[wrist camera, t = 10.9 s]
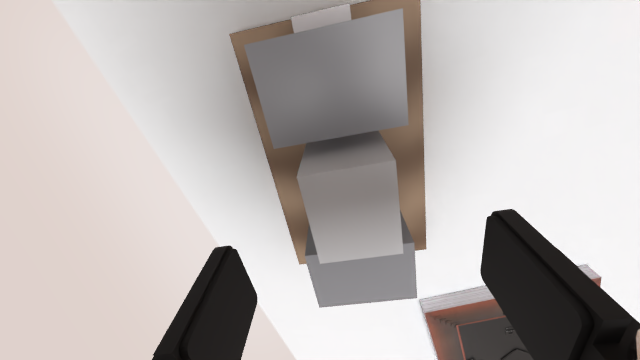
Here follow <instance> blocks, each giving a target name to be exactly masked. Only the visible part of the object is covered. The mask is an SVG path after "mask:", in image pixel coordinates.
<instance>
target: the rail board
mask: <svg viewBox="0 0 640 360" xmlns="http://www.w3.org/2000/svg"><path fill="white" fill-rule="evenodd" d="M401 8H403V22H404V42H405V63H406V83H407V104H408V124H409V125H406V126H401V127H395V128H390V129H384V130H378V131H379V133H380V134H381V136H382V138H383V139H384V141H385V143H386V144H387V146H388V148H389V150H390V151H391V153H392V155H393V156H394V158H395V160H396V168H397V181H398V193H399V205H400V211H401V213H402V215H403V218H404V220H405V222H406V225H407V227H408V229H409V232H410V234H411V236H412V239H413V241H414V248H415V251H416V250H424V249H426V220H425V178H424V136H423V94H422V52H421V10H420V0H370V1H366V2H362V3H358V4H353V5H350V4H349V3H347V4H343V5H339V6H335V7H330V8H326V9H322V10H318V11H314V12H310V13H305V14H301V15H297V16H293V17H291V20H286V21H282V22H278V23H274V24H270V25H265V26H261V27H257V28H253V29H249V30H244V31H240V32H236V33H232V34H229V35H230V38H231V41H232V44H233V48H234V51H235V54H236V58H237V61H238V64H239V67H240V71H241V74H242V77H243V81H244V84H245V87H246V90H247V94H248V97H249V100H250V104H251V107H252V110H253V113H254V117H255V120H256V123H257V127H258V130H259V133H260V136H261V140H262V143H263V146H264V149H265V153H266V156H267V159H268V163H269V166H270V169H271V172H272V176H273V179H274V182H275V186H276V189H277V192H278V195H279V199H280V202H281V205H282V209H283V212H284V215H285V218H286V222H287V225H288V228H289V232H290V235H291V238H292V241H293V245H294V248H295V251H296V255H297V258H298V261H299V264H307V262H306V259H305V250H306V242H307V235H308V227H309V221H308V217H307V213H306V210H305V206H304V202H303V198H302V195H301V191H300V187H299V184H298V180H297V174H298V170H299V167H300V163H301V160H302V157H303V153H304V149H305V146H306V143H305V144H299V145H294V146H288V147H282V148H277V149H274V148H273V144H272V141H271V137H270V134H269V130H268V127H267V124H266V120H265V117H264V113H263V110H262V106H261V103H260V99H259V96H258V92H257V89H256V85H255V82H254V78H253V75H252V71H251V68H250V64H249V61H248V58H247V54H246V51H245V47H244V45H246V44H250V43H254V42H259V41H263V40H267V39H272V38H276V37H280V36H285V35H289V34H293V33H298V32H302V31H306V30H311V29H315V28H319V27H323V26H328V25H332V24H336V23H341V22H345V21H349V20H354V19H358V18H362V17H367V16H371V15H375V14H380V13H384V12H388V11H393V10H397V9H401Z"/></svg>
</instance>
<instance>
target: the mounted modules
mask: <svg viewBox="0 0 640 360" xmlns="http://www.w3.org/2000/svg"><path fill="white" fill-rule="evenodd" d="M244 47H245V51H246V54H247V58H248V61H249V64H250V68H251V71H252V75H253V78H254V82H255V85H256V89H257V92H258V96H259V99H260V103H261V106H262V110H263V113H264V117H265V120H266V124H267V127H268V130H269V134H270V137H271V141H272V144H273V148H274V149H277V148H282V147H288V146H294V145H299V144H305V143H311V142H316V141H322V140H327V139H333V138H339V137H344V136H350V135H356V134H361V133H367V132H373V131H378V130H384V129H390V128H395V127H401V126H406V125H409V124H408V104H407V83H406V63H405V42H404V22H403V8H401V9H397V10H393V11H388V12H384V13H380V14H375V15H371V16H367V17H362V18H358V19H354V20H349V21H345V22H341V23H336V24H332V25H328V26H323V27H319V28H315V29H311V30H306V31H302V32H298V33H293V34H289V35H285V36H280V37H276V38H272V39H267V40H263V41H259V42H254V43H250V44H246V45H244ZM400 217H401V229H402V241H403V253H404V254H396V255H388V256H380V257H372V258H364V259H355V260H347V261H339V262H331V263H323V264H320V262H319V258H318V254H317V251H316V247H315V243H314V239H313V236H312V232H311V228H310V225H309V227H308V235H307V242H306V250H305V259H306V262H307V266H308V269H309V273H310V276H311V280H312V283H313V287H314V290H315V294H316V297H317V301H318V304H319V308H320V307H330V306H340V305H350V304H361V303H371V302H381V301H391V300H402V299H412V298H417V289H416V268H415V248H414V241H413V239H412V236H411V234H410V232H409V229H408V227H407V225H406V222H405V220H404V218H403V215H402V213H401V211H400Z"/></svg>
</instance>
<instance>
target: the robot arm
mask: <svg viewBox="0 0 640 360" xmlns="http://www.w3.org/2000/svg"><path fill="white" fill-rule="evenodd" d="M481 276H482V279H483V281H484V283H485V284H486V286H487V287H488V289H489V291H490V292H491V294H492V295H493V297H494V298H495V300H496V302H497V303H498V305H499V306H500V308H501V309H502V311H503V313H504V314H505V316H506V317H507V319H508V320H509V322H510V324H511V325H512V327H513V328H514V330H515V331H516V333H517V335H518V336H519V338H520V339H521V341H522V342H523V344H524V346H525V347H526V349H527V350H528V352H529V353H530V355H531V357H532V358H533V360H640V323H639V322H638V321H636V320H635V319H634V318H633V317H632V316H631V315H630V314H629V313H628V312H627V311H625V310H624V309H623V308H622V307H621V306H620V305H619V304H618V303H617V302H616V301H614V300H613V299H612V298H611V297H610V296H609V295H608V294H607V293H606V292H605V291H604V290H602V289H601V288H600V287H599V286H598V285H597V284H596V283H595V282H594V281H593V280H591V279H590V278H589V277H588V276H587V275H586V274H585V273H584V272H583V271H582V270H580V269H579V268H578V267H577V266H576V265H575V264H574V263H573V262H572V261H571V260H570V259H568V258H567V257H566V256H565V255H564V254H563V253H562V252H561V251H560V250H558V249H557V248H556V247H554V246H553V245H552V244H551V243H550V242H549V241H548V240H547V239H546V238H544V237H543V236H542V235H541V234H540V233H539V232H538V231H537V230H536V229H535V228H534V227H532V226H531V225H530V224H529V223H528V222H527V221H526V220H525V219H524V218H523V217H522V216H520V215H519V214H518V213H517V212H516V211H515V210H513V209H508V210H501V211H494V212H493V213H492V214H491V216H488V217H487V220H486V229H485V237H484V246H483V254H482V263H481ZM256 305H257V294H256V292H255V289H254V287H253V285H252V283H251V281H250V278H249V276H248V274H247V272H246V269H245V267H244V265H243V263H242V261H241V258H240V256H239V254H238V252H237V250H236V249H233V248H232V247H231V246H223V247H217V248H215V249H214V250H213V251H212V253H211V255H210V256H209V258H208V260H207V262H206V264H205V265H204V267H203V269H202V270H201V272H200V274H199V276H198V277H197V279H196V281H195V283H194V284H193V286H192V288H191V290H190V291H189V293H188V295H187V297H186V299H185V300H184V302H183V304H182V305H181V307H180V309H179V311H178V312H177V314H176V316H175V318H174V320H173V321H172V323H171V325H170V326H169V328H168V330H167V331H166V333H165V335H164V337H163V339H162V340H161V342H160V344H159V345H158V347H157V349H156V351H155V353H154V354H153V355H154V357H153V359H152V360H241V357H242V353H243V350H244V346H245V343H246V340H247V336H248V333H249V329H250V326H251V322H252V319H253V315H254V312H255V308H256Z"/></svg>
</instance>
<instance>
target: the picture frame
mask: <svg viewBox="0 0 640 360" xmlns="http://www.w3.org/2000/svg"><path fill="white" fill-rule="evenodd" d="M577 267H578V268H579V269H580V270H582V271H583V272H584V273H585V274H586V275H587V276H588V277H589V278H590V279H591V280H593V281H594V282H595V283H596V284H597V285H598V286H599V287H600V283H601V277H600V276H599V275H598V274H597V273H596V272H594V271H593V270H592V269H591V268H590V267H588V266H587V265H581V266H577ZM420 303H421V307H422V310H423V313H424V316H425V319H426V323H427V326H428V329H429V332H430V336H431V339H432V342H433V345H434V348H435V352H436V355H437V358H438V360H533V358H532V357H531V355H530V353H529V352H528V350H527V349H526V347H525V346H524V344H523V342H522V341H521V339H520V338H519V336H518V335H517V333H516V331H515V330H514V328H513V327H512V325H511V324H510V322H509V320H508V319H507V317H506V316H505V314H504V313H503V311H502V309H501V308H500V306H499V305H498V303H497V302H496V300H495V298H494V297H493V295H492V294H491V292H490V291H489V289H488V287H487V286H482V287H477V288H473V289H468V290H463V291H459V292H454V293H449V294H444V295H440V296H435V297H430V298H425V299H421V300H420Z"/></svg>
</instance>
